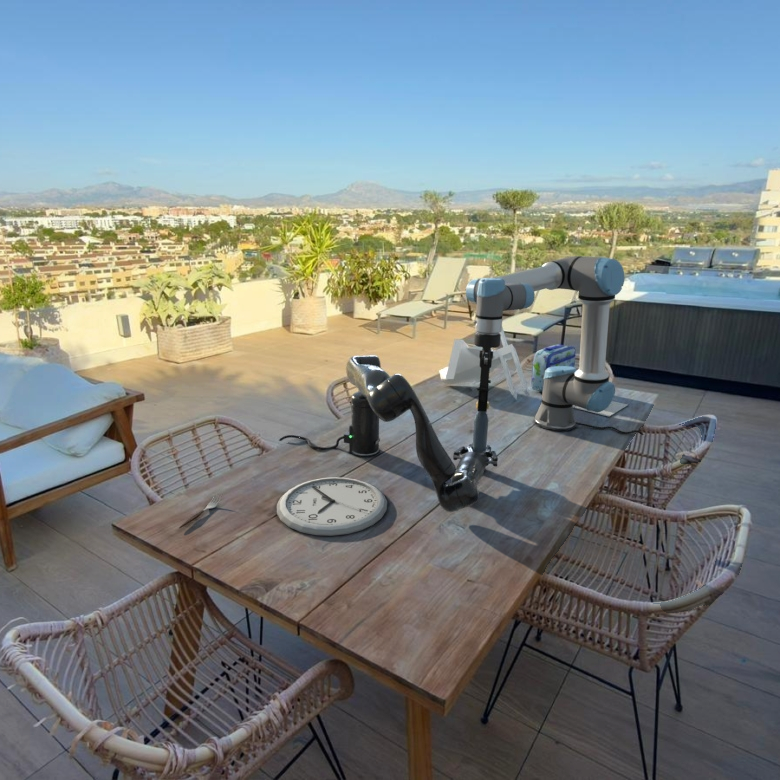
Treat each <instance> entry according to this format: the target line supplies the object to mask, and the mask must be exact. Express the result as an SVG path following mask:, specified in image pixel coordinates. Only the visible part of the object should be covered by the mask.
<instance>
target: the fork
mask: <svg viewBox="0 0 780 780" xmlns="http://www.w3.org/2000/svg"><path fill="white" fill-rule="evenodd" d="M222 498H223V495H221V493H220V494H217V493H215V494H214V495H213V497H212V499H211V500H210V502H209V503H208V504H207V505H206V507H205V508H204V509H202V510H200V511H199V512H197V513H195V514H193V515H192V516H191V517H190V518H188V519H187V520H186V521H185V522H184V523H183V524H181V525H180V526H179V527H178V529H182V528H183V527H185V526H186V525H188V524H189V523H191V522H193V521H195V520H196V519H197V518H198V517H200V516H201V515H202V514H203V513H204V512H205V511H207V510H210V509H211V510H212V509H215V508H216V507H217V506H218V505H219V503H220V501H221V499H222Z"/></svg>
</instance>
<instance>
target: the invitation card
mask: <svg viewBox="0 0 780 780" xmlns="http://www.w3.org/2000/svg"><path fill="white" fill-rule="evenodd" d="M628 406H629V404H627V403H623V402H618V401H614V400H612V402H611V403H610V405H609V406H608V407H607V408H606V409H605V410H603V411H601V412H594V411H588V410H587V409H584V408H581V407H578V406H574V407H573V409H575V410H581V411H584V412H587V413H593V414H596V415H600V416H604V417H608V418H609V417H611V416H613V415H614V414H616V413H617V412H619V411H621V410H623V409H624V408H626V407H628Z"/></svg>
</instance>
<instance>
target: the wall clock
mask: <svg viewBox="0 0 780 780" xmlns="http://www.w3.org/2000/svg"><path fill="white" fill-rule="evenodd" d="M387 509H388V500H387V498H386V496H385V494H384V493H383V492H382V491H381V490H380V489H379V488H377V487H376V486H374V485H372V484H371V483H369V482H365V481H362V480H359V479H355V478H349V477H338V476H337V477H335V476H333V477H332V476H331V477H322V478H317V479H312V480H307V481H305V482H302V483H299V484H297V485H295V486H293V487H292V488H290V489H288V490H287V491H286V492H285V493H284V494H283V495H281V496H280V498H279V499H278V502H277V503H276V515H277V517H278V518H279V520H280V521H281V522H282V523H283V524H285V525H286V526H287V527H288V528H290V529H293V530H295V531H297V532H299V533H303V534H308V535H312V536H327V537H328V536H329V537H331V536H332V537H333V536H342V535H350V534H352V533H356V532H361V531H363V530H366V529H368V528H369V527H372V526H373V525H375V524H376V523H378V522H379V521H380V520H381V519H382V518H383V517H384V516H385V514H386V512H387Z"/></svg>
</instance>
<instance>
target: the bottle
mask: <svg viewBox="0 0 780 780" xmlns="http://www.w3.org/2000/svg"><path fill="white" fill-rule="evenodd" d="M488 430H489V415H488V411H487V412H484V411H478V410H477V411H476V414H475V417H474V423H473V438H472V443H473V449H472V451H473V452H477V453H480V452H481V451H483V450H484V451H485V450H486V447H487V445H488V444H487V443H488V432H489V431H488Z"/></svg>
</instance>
